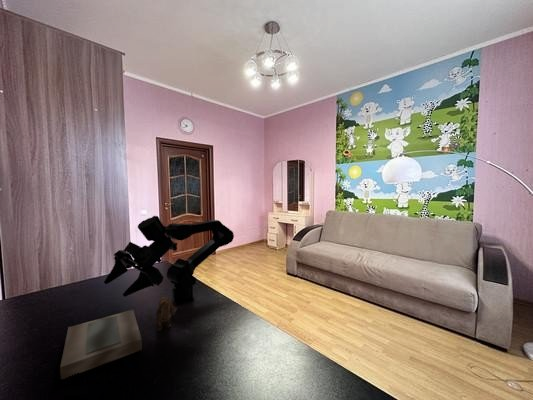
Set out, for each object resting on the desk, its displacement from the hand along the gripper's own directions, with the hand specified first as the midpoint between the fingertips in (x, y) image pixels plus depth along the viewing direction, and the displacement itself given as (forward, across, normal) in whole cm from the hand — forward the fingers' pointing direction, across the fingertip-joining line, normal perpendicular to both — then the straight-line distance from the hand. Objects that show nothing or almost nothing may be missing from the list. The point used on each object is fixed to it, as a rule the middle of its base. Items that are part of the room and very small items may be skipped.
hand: (113, 289), depth 67 cm
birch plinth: (+10, +5, +8) cm, 14 cm away
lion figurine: (-2, +12, +14) cm, 19 cm away
